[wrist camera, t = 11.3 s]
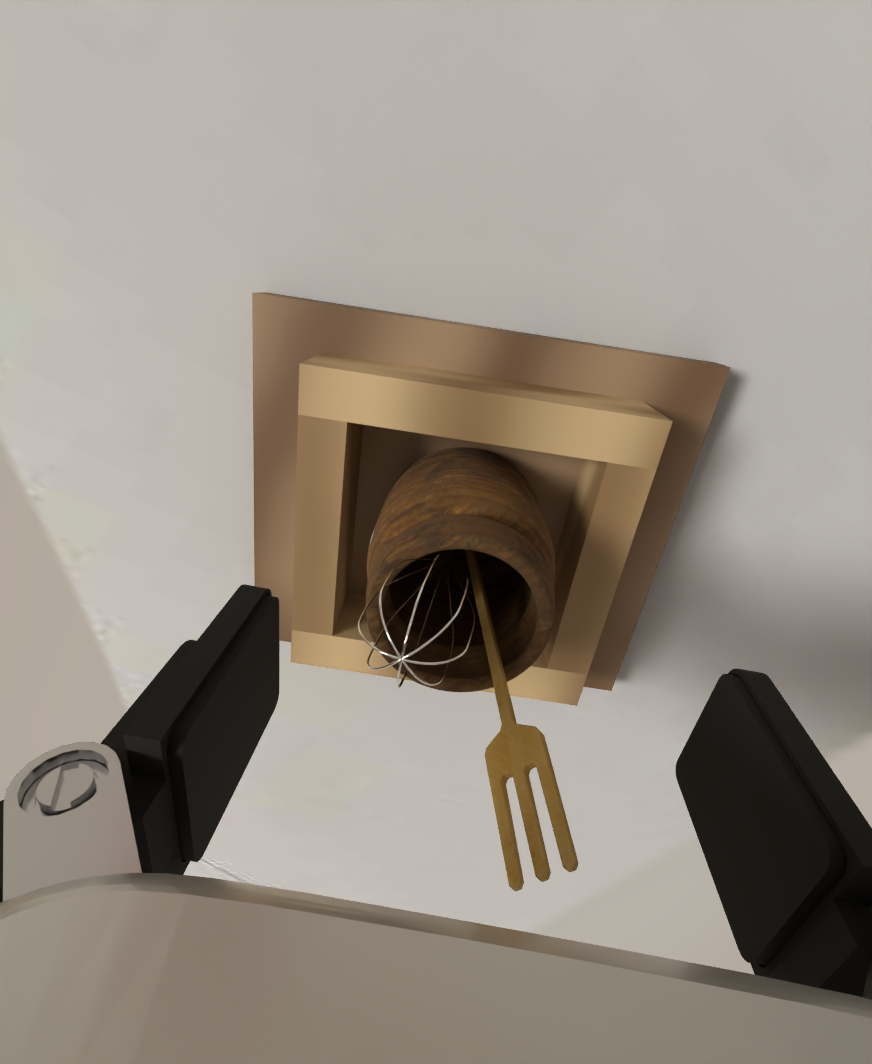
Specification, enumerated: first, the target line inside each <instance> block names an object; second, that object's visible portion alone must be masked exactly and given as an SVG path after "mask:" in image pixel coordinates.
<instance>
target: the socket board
mask: <svg viewBox="0 0 872 1064" xmlns="http://www.w3.org/2000/svg"><path fill="white" fill-rule="evenodd" d="M252 300H253V428H254V557H255V586H256V587H261V588H267V589H270V590H271V593H272V596H273V597H278V599H279V640H281V641H287V642H291V662H294V663H300V664H307V665H313V666H320V667H326V668H333V669H340V670H346V671H353V672H359V673H366V674H373V675H379V676H386V677H392V678H397V674H398V671H397V670H396V669H395V668H393V667H392V666H389V667H386V668H383V669H379V670H372V669H369V668H368V666H367V658H368V656H369V654H370V652H371V650H372V647H371V646H369V645H368V644H367V643H366V642H365V641H364V640H363V638H362V637H361V635H360V633H359V630H358V621H359V619H360V616H361V614H362V613H363V611H364V609H365V608H366V589H367V583H368V578H367V557H368V550H369V545H370V541H371V538H372V534H373V531H374V528H375V525H376V523H377V520H378V517H379V515H380V512H381V510H382V507H383V505H384V502H385V500H386V498H387V496H388V494H389V492H390V490H391V488H392V487H393V485H394V483H395V482H396V481H397V479H398V478H399V477H400V476H401V474H402V473H403V472H404V471H405V470H406V469H407V468H408V467H409V466H411V465H412V464H413V463H415V462H416V461H417V460H419V459H421V458H422V457H424V456H426V455H428V454H431V453H433V452H436V451H439V450H443V449H448V448H457V447H468V448H476V449H481V450H484V451H488V452H490V453H493V454H495V455H497V456H499V457H501V458H503V459H505V460H506V461H508V462H509V463H511V464H512V465H513V466H514V467H515V468H517V469H518V470H519V471H520V472H521V474H522V475H523V476H524V477H525V478H526V480H527V481H528V482H529V484H530V485H531V487H532V489H533V490H534V492H535V494H536V496H537V499H538V501H539V504H540V506H541V509H542V512H543V514H544V517H545V520H546V523H547V526H548V530H549V533H550V536H551V540H552V544H553V549H554V555H555V569H556V570H555V582H554V593H555V612H554V623H553V628H552V632H551V635H550V638H549V641H548V643H547V645H546V647H545V648H544V650H543V652H542V653H541V655H540V656H539V657H538V659H537V660H536V661H535V662H534V663H533V664H532V665H531V666H530V667H529V668H528V669H527V670H525V671H524V672H523V673H521V674H520V675H519V676H517V677H515V678H514V679H512V680H510V681H508V682H507V685H508V690H509V694H510V695H511V696H518V697H524V698H531V699H537V700H544V701H551V702H557V703H564V704H570V705H577V704H578V701H579V698H580V695H581V692H582V689H583V687H590V688H597V689H603V690H610V691H612V688H613V685H614V682H615V680H616V677H617V674H618V672H619V669H620V666H621V663H622V661H623V658H624V655H625V653H626V650H627V647H628V644H629V642H630V639H631V636H632V634H633V631H634V628H635V625H636V623H637V620H638V617H639V615H640V612H641V609H642V606H643V604H644V601H645V598H646V596H647V593H648V590H649V587H650V585H651V582H652V579H653V577H654V574H655V571H656V568H657V566H658V563H659V560H660V558H661V555H662V552H663V549H664V547H665V544H666V541H667V539H668V536H669V533H670V530H671V528H672V525H673V522H674V520H675V517H676V514H677V511H678V509H679V506H680V503H681V501H682V498H683V495H684V492H685V490H686V487H687V484H688V482H689V479H690V476H691V474H692V471H693V468H694V465H695V463H696V460H697V457H698V455H699V452H700V449H701V446H702V444H703V441H704V438H705V436H706V433H707V430H708V427H709V425H710V422H711V419H712V417H713V414H714V411H715V408H716V406H717V403H718V400H719V398H720V395H721V392H722V389H723V387H724V384H725V381H726V379H727V376H728V373H729V370H730V368H731V367H727V366H724V365H721V364H718V363H714V362H707V361H701V360H694V359H688V358H682V357H675V356H669V355H662V354H656V353H650V352H643V351H637V350H630V349H624V348H618V347H611V346H605V345H598V344H592V343H586V342H579V341H573V340H566V339H560V338H554V337H547V336H541V335H534V334H528V333H522V332H515V331H509V330H502V329H496V328H490V327H483V326H477V325H470V324H464V323H458V322H451V321H445V320H438V319H432V318H426V317H419V316H413V315H406V314H400V313H394V312H387V311H381V310H374V309H368V308H362V307H355V306H349V305H342V304H336V303H330V302H323V301H317V300H310V299H304V298H298V297H291V296H285V295H278V294H272V293H266V292H264V293H252ZM360 628H361V631H362V634H363V635H364V637H365V638H366V639H367V641H368V642H370V643H371V644H372V645H373V646H374V642H373V640H372V637H371V635H370V632H369V628H368V624H367V617H366V612H365V613H364V615H363V617H362V619H361V622H360ZM375 647H376V646H375ZM376 648H377V647H376ZM387 664H389V663H388V662H387V661H386V660H385V658H384V657H383V656H382V655H381V653H380V652H378V651H376V650H375V649H374V650H373V652H372V654H371V657H370V659H369V665H370V666H371V667H381V666H385V665H387ZM403 676H404V675H403V674H401V673H400V676H399V679H402V678H403ZM405 679H406V680H411V679H409V678H407V677H405ZM412 681H413V680H412ZM480 691H485V692H491V693H495V690H494V687H493V688H489V689H485V690H480Z"/></svg>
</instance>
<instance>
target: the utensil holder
mask: <svg viewBox="0 0 872 1064" xmlns="http://www.w3.org/2000/svg"><path fill="white" fill-rule="evenodd" d="M555 570H556V569H555V555H554V549H553V544H552V540H551V536H550V533H549V530H548V526H547V523H546V520H545V517H544V514H543V512H542V509H541V506H540V504H539V501H538V499H537V496H536V494H535V492H534V490H533V489H532V487H531V485H530V484H529V482H528V481H527V480H526V478H525V477H524V476H523V475H522V474H521V472H520V471H519V470H518V469H517V468H515V467H514V466H513V465H512V464H511V463H509V462H508V461H506V460H505V459H503V458H501V457H499V456H497V455H495V454H493V453H490V452H488V451H484V450H481V449H476V448H468V447H457V448H448V449H443V450H439V451H436V452H433V453H431V454H428V455H426V456H424V457H422V458H421V459H419V460H417V461H416V462H415V463H413V464H412V465H411V466H409V467H408V468H407V469H406V470H405V471H404V472H403V473H402V474H401V476H400V477H399V478H398V479H397V481H396V482H395V483H394V485H393V487H392V488H391V490H390V492H389V494H388V496H387V498H386V500H385V502H384V505H383V507H382V510H381V512H380V515H379V517H378V520H377V523H376V525H375V528H374V531H373V534H372V538H371V541H370V545H369V550H368V557H367V578H368V583H367V589H366V608H365V609H364V611H363V613H362V614H361V616H360V619H359V621H358V630H359V633H360V635H361V637H362V638H363V640H364V641H365V642H366V643H367V644H368V645H369V646H371V647H372V650H371V652H370V654H369V656H368V658H367V666H368V668H369V669H372V670H379V669H383V668H386V667H389V666H392V667H393V668H395V669H396V670H397V671H398V674H397V681H396V687H397V688H400V687H401V685H402V683H403V681H404V679H405V677H407V678H409V679H411V680H413V681H415V682H417V683H419V684H422V685H424V686H427V687H430V688H434V689H438V690H443V691H451V692H473V691H480V690H485V689H489V688H493V687H494V690H495V694H496V699H497V704H498V708H499V713H500V718H501V722H502V726H501V730H500V732H499V733H498V734H497V736H496V737H495V738H494V739H493V741H492V742H491V743H490V744H489V746H488V747H487V748H486V752H485V759H486V765H487V770H488V776H489V781H490V786H491V792H492V797H493V802H494V808H495V813H496V818H497V824H498V829H499V834H500V839H501V845H502V850H503V855H504V861H505V866H506V871H507V877H508V882H509V886H510V887H511V888H512V889H513V890H514V891H518V890H520V889H522V886H523V884H524V880H523V875H522V869H521V864H520V859H519V853H518V848H517V842H516V837H515V832H514V826H513V821H512V816H511V810H510V805H509V799H508V794H507V789H506V782H507V780H508V779H509V778H511V777H513V778H514V782H515V787H516V791H517V796H518V800H519V805H520V809H521V813H522V818H523V822H524V827H525V831H526V836H527V840H528V844H529V849H530V853H531V858H532V862H533V867H534V871H535V876H536V877H537V878H538V879H539V880H540V881H542V882H544V881H546V880H548V879H549V876H550V873H551V872H550V868H549V863H548V859H547V854H546V850H545V845H544V841H543V837H542V832H541V828H540V823H539V819H538V814H537V810H536V806H535V801H534V797H533V792H532V788H531V783H530V779H529V773H530V770H531V769H532V768H535V767H537V770H538V774H539V778H540V782H541V785H542V789H543V793H544V797H545V801H546V804H547V808H548V812H549V816H550V819H551V823H552V827H553V831H554V835H555V838H556V842H557V846H558V850H559V853H560V857H561V861H562V865H563V867H564V868H565V869H566V870H567V871H569V872H572V871H575V870H576V869H577V866H578V860H577V856H576V852H575V849H574V845H573V841H572V838H571V834H570V830H569V826H568V823H567V819H566V815H565V811H564V808H563V804H562V800H561V796H560V793H559V789H558V785H557V782H556V778H555V774H554V770H553V767H552V763H551V759H550V755H549V752H548V748H547V744H546V741H545V737H544V735H543V734H542V733H541V732H540V731H539V730H538V729H537V728H536V727H533V726H527V725H521V724H517V723H516V719H515V715H514V711H513V706H512V702H511V698H510V694H509V690H508V685H507V682H508V681H510V680H512V679H514V678H515V677H517V676H519V675H520V674H521V673H523V672H524V671H525V670H527V669H528V668H529V667H530V666H531V665H532V664H533V663H534V662H535V661H536V660H537V659H538V657H539V656H540V655H541V653H542V652H543V650H544V648H545V647H546V645H547V643H548V641H549V638H550V635H551V632H552V628H553V623H554V612H555V593H554V582H555ZM365 612H366V617H367V624H368V628H369V632H370V635H371V637H372V640H373V642H374V646H373V645H372V644H371V643H370V642H368V641H367V639H366V638H365V637H364V635H363V634H362V631H361V628H360V622H361V619H362V617H363V615H364V613H365ZM375 646H376V647H377V648H376V647H375ZM374 649H375V650H376V651H378V652H380V653H381V655H382V656H383V657H384V658H385V660H386V661H387V662H388V663H389V664H387V665H385V666H381V667H371V666H370V665H369V659H370V657H371V654H372V652H373V650H374ZM400 673H401V674H403V675H404V676H403V678H402V680H401V683H400V684H399V676H400Z"/></svg>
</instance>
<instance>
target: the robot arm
mask: <svg viewBox="0 0 872 1064" xmlns="http://www.w3.org/2000/svg"><path fill="white" fill-rule="evenodd" d="M278 696H279V599H278V597H273V596H272V593H271V590H270V589H267V588H261V587H256V586H250V585H241V586H240V587H239V588H238V590H237V591H236V592H235V593H234V595H233V596H232V597H231V598H230V600H229V601H228V602H227V603H226V605H225V606H224V607H223V609H222V610H221V611H220V612H219V614H218V615H217V616H216V617H215V619H214V620H213V621H212V622H211V624H210V625H209V626H208V628H207V629H206V630H205V631H204V633H203V634H202V635H201V636H200V638H199V639H198V640H197V641H194V640H188V641H186V642H185V643H184V644H182V645H181V646H180V647H179V649H178V650H177V651H176V652H175V654H174V655H173V656H172V657H171V658H170V660H169V661H168V662H167V663H166V665H165V666H164V667H163V668H162V669H161V671H160V672H159V673H158V674H157V675H156V677H155V678H154V679H153V680H152V682H151V683H150V684H149V685H148V686H147V688H146V689H145V690H144V691H143V693H142V694H141V695H140V696H139V697H138V699H137V700H136V701H135V702H134V703H133V705H132V706H131V707H130V708H129V710H128V711H127V712H126V713H125V714H124V716H123V717H122V718H121V719H120V721H119V722H118V723H117V724H116V726H115V727H114V728H113V729H112V730H111V732H110V733H109V734H108V735H107V736H106V738H105V739H104V740H103V741H102V742H101V744H99V743H96V742H77V743H72V744H68V745H63V746H60V747H58V748H55V749H53V750H50V751H48V752H46V753H44V754H42V755H41V756H39V757H37V758H36V759H34V760H33V761H31V762H30V763H28V764H27V765H26V766H25V767H24V768H23V769H22V770H21V771H20V772H19V773H18V774H17V775H16V776H15V777H14V779H13V780H12V782H11V783H10V785H9V787H8V788H7V791H6V795H5V799H4V800H2V801H0V1064H872V828H871V827H870V825H869V824H868V822H867V821H866V819H865V818H864V816H863V815H862V813H861V812H860V810H859V809H858V807H857V806H856V804H855V803H854V802H853V800H852V799H851V797H850V796H849V794H848V793H847V791H846V790H845V788H844V787H843V785H842V784H841V782H840V781H839V779H838V778H837V777H836V775H835V774H834V773H833V771H832V769H831V768H830V766H829V765H828V763H827V762H826V760H825V759H824V757H823V756H822V754H821V753H820V751H819V750H818V748H817V747H816V746H815V744H814V743H813V741H812V740H811V738H810V737H809V735H808V734H807V732H806V731H805V729H804V728H803V726H802V725H801V723H800V722H799V720H798V719H797V718H796V716H795V715H794V713H793V712H792V710H791V709H790V707H789V706H788V704H787V703H786V701H785V700H784V698H783V697H782V695H781V694H780V692H779V691H778V690H777V688H776V687H775V685H774V684H773V682H772V681H771V679H770V678H769V677H768V676H767V675H766V674H764V673H759V672H754V671H748V670H742V669H733V670H731V671H730V672H729V673H728V674H723V675H722V676H721V677H720V678H719V680H718V682H717V684H716V686H715V688H714V690H713V692H712V694H711V696H710V698H709V700H708V702H707V704H706V705H705V707H704V709H703V711H702V713H701V715H700V717H699V719H698V721H697V723H696V725H695V727H694V729H693V731H692V733H691V735H690V737H689V739H688V741H687V743H686V745H685V747H684V749H683V751H682V753H681V755H680V757H679V759H678V761H677V764H676V777H677V781H678V784H679V787H680V789H681V792H682V795H683V798H684V800H685V803H686V806H687V809H688V811H689V814H690V817H691V820H692V822H693V825H694V828H695V831H696V833H697V836H698V839H699V842H700V844H701V847H702V850H703V853H704V855H705V858H706V861H707V863H708V867H709V869H710V872H711V875H712V877H713V880H714V883H715V886H716V889H717V891H718V894H719V897H720V900H721V902H722V905H723V908H724V911H725V913H726V916H727V919H728V921H729V924H730V927H731V930H732V933H733V935H734V938H735V941H736V944H737V946H738V949H739V951H740V953H741V955H742V957H743V958H744V960H746V961H747V962H749V963H751V965H752V968H753V971H754V974H755V975H753V974H748V973H742V972H737V971H732V970H726V969H721V968H716V967H711V966H705V965H700V964H695V963H689V962H684V961H679V960H673V959H668V958H663V957H657V956H652V955H646V954H642V953H636V952H631V951H626V950H620V949H615V948H610V947H604V946H599V945H593V944H587V943H582V942H577V941H571V940H566V939H560V938H555V937H550V936H544V935H539V934H533V933H528V932H522V931H517V930H511V929H506V928H500V927H495V926H489V925H484V924H478V923H473V922H467V921H462V920H456V919H451V918H445V917H440V916H434V915H428V914H423V913H417V912H411V911H406V910H400V909H394V908H389V907H383V906H377V905H372V904H366V903H360V902H355V901H349V900H343V899H338V898H332V897H326V896H321V895H315V894H309V893H304V892H297V891H291V890H285V889H278V888H272V887H266V886H259V885H253V884H247V883H240V882H234V881H228V880H221V879H215V878H206V877H196V876H187V875H183V874H184V872H185V870H186V868H187V866H188V864H189V862H190V861H194V862H198V861H199V860H200V859H201V857H202V856H203V854H204V852H205V850H206V848H207V846H208V844H209V842H210V840H211V838H212V836H213V834H214V832H215V830H216V828H217V826H218V824H219V822H220V820H221V818H222V816H223V814H224V812H225V809H226V807H227V805H228V803H229V801H230V799H231V797H232V795H233V793H234V791H235V789H236V787H237V785H238V783H239V781H240V779H241V777H242V775H243V773H244V771H245V769H246V767H247V765H248V763H249V761H250V759H251V756H252V754H253V752H254V750H255V748H256V746H257V744H258V742H259V740H260V738H261V736H262V734H263V732H264V730H265V728H266V726H267V724H268V722H269V720H270V718H271V716H272V714H273V712H274V710H275V707H276V704H277V701H278Z"/></svg>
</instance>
